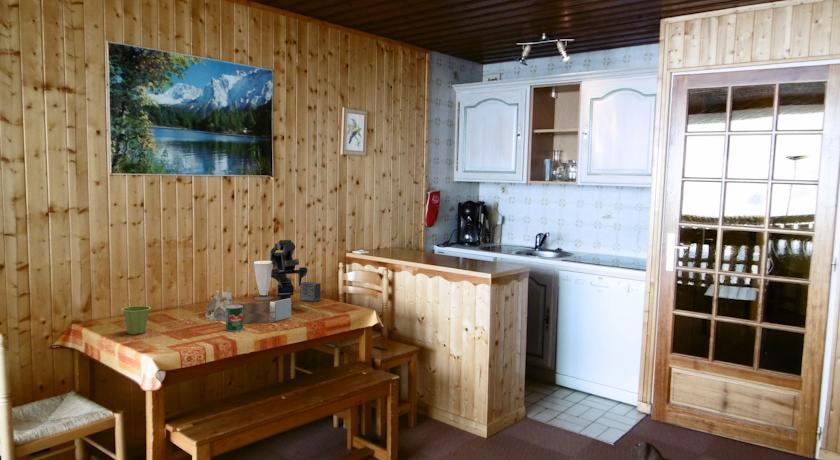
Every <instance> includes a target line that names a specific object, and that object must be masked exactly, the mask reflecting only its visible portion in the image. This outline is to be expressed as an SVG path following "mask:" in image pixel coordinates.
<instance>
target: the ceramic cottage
mask: <svg viewBox="0 0 840 460" xmlns="http://www.w3.org/2000/svg"><path fill="white" fill-rule="evenodd" d="M230 291H231V290H230V287H229V286H228V287H227V289H225V291H222V293H221V294H220V291H219V290H216V291H215V296H213V298H212V299H211V301H210V302H209V303H208V304H207V305H206V307H207V308H206V313H205V316H204V317H205V318H207V319H208V318H209V319H208V320H210V319H211V320H210V321H213V320H220V321H221V322H224V321H223V320H225V321H226V306H228V305H234V304H233V302H234V301H233V298H234V297H233V292H230ZM220 295H221V297H220ZM220 321H219V322H220Z"/></svg>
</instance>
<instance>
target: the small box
mask: <svg viewBox="0 0 840 460" xmlns="http://www.w3.org/2000/svg"><path fill="white" fill-rule="evenodd" d="M321 286H322V285H321V282H311V281H304V282H301V284H300V286H299V287H300V288H299V289H300V290H299V291H300V293H299V294H300V296H299V299H300V300H299V301H300V302H311V303H316V302H320V301H321V298H322V297H321V296H322V295H321V292H322V291H321V290H322V289H321Z"/></svg>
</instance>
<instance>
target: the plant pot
mask: <svg viewBox="0 0 840 460" xmlns="http://www.w3.org/2000/svg"><path fill="white" fill-rule="evenodd" d="M150 310H151V307H150V306H147V305H134V306H133V305H132V306H127V307H123V308H121V311H122V313H123V316H124V319H125V320H124V322H125V326H126V331H127V334H129V335H138V334H140V335H143V334H145V333H146V328H147V323H148V317H149V312H150Z"/></svg>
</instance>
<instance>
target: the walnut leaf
mask: <svg viewBox="0 0 840 460" xmlns="http://www.w3.org/2000/svg"><path fill="white" fill-rule="evenodd" d="M238 305H243V325H245V324H248V325H249V324H265V323H267V324H268V323H271V324H272V323H273V324H274V323H276V321H275V312H270V302H269V301H263V302H262V301H261V302H239V304H238Z"/></svg>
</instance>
